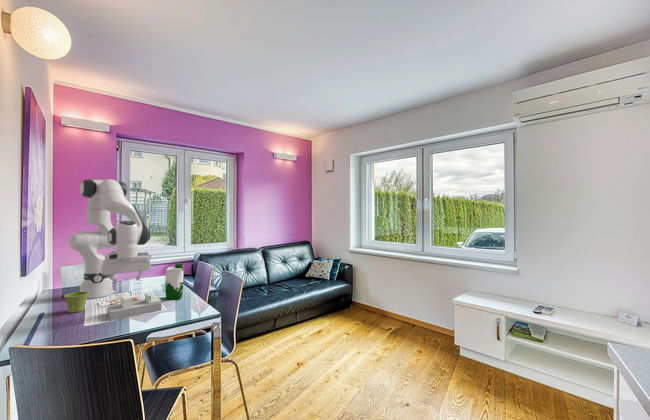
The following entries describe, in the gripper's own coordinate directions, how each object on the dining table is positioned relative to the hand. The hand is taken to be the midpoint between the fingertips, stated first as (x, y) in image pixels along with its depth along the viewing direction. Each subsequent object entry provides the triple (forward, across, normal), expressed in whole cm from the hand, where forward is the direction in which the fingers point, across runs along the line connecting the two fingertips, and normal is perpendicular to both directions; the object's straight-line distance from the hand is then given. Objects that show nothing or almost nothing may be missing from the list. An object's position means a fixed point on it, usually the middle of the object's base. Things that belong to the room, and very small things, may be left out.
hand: (126, 281), depth 141 cm
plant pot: (+17, +18, -21) cm, 32 cm away
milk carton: (+16, -25, -11) cm, 32 cm away
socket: (+16, -4, +1) cm, 16 cm away
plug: (+14, 0, +1) cm, 14 cm away
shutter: (+12, -12, +1) cm, 17 cm away
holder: (+16, -4, -13) cm, 21 cm away
